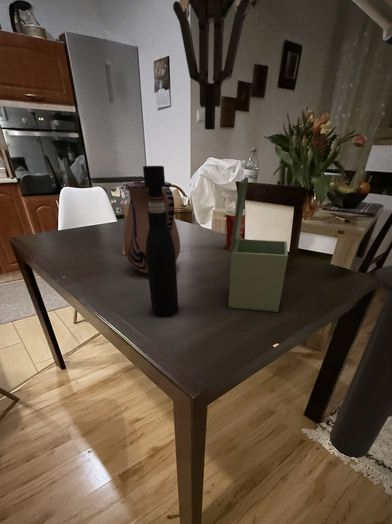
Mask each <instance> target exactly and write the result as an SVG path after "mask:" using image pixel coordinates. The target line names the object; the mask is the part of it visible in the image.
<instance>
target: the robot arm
mask: <svg viewBox="0 0 392 524" xmlns="http://www.w3.org/2000/svg"><path fill="white" fill-rule="evenodd" d="M351 1H352V2H353V3H354V4H355V5H357V6H358V7H359V9H361V11H363V12H364V13H365V14H367V15H368V16H369V17H370V19H372V20H373V21H374V22H375V23H376V24H377V25H378V26H380V27H381V28H382V40H383V41H384V42H385V43H386V44H387V45H388V46H389V47H390V48H392V0H351ZM233 5H234V10H235V14H234V18H233V22H232V27H231V32H230V38H229V41H228V47H227V52H226V57H225V61H224V68H223V59H224V58H223V56H224V30H225V19H226V18H227V16H228V14H229V12H230V10H231V8H232V6H233ZM251 6H252V3H251V0H179V1H177V0H176V1H174V2H173V5H172V9H173V12H174V14H175V16H176V18H177V20H178V22H179V29H180V32H181V38H182V43H183V48H184V54H185V59H186V63H187V64H186V65H187V70H188V74H189V78H190V79H191V80H192V81H193V82H196V83H198V86H199V106H200V107H201V108H203V109H204V130H206V131H207V130H211V131H212V130H215V129H216V108H221V104H222V85H223V83H224V82H226V81H227V80H230V79H231V78H232V76H233V72H234V67H235V62H236V57H237V53H238V49H239V44H240V40H241V35H242V30H243V26H244V21H245V19H246V17H247V15H248V13H249V11H250V9H251ZM190 7H191V8H192V10H193V12H194V14H195V16H196V18H197V20H198V21H197V22H198V23H197V24H198V64H197V59H196V52H195V47H194V41H193V35H192V29H191V25H190V22H189V18H190V13H191V12H190ZM211 23H213V59H212V60H213V61H212V62H213V64H212V66H213V67H212V68H213V69H212V71H213V73H212V81H213V82H209V56H210V55H209V52H210V51H209V50H210V49H209V47H210V45H209V43H210V24H211Z"/></svg>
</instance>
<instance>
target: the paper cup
mask: <svg viewBox="0 0 392 524" xmlns="http://www.w3.org/2000/svg"><path fill="white" fill-rule="evenodd" d="M235 212H236V207H233V208H227V209H226V212H225V221H226V223H225V224H226V225H225V227H226V228H225V233H226V235H225V237H226V239H225V240H226V250H227V251H231V252H232V251H233V250H230V246H231V239H232V233H233V226H234V219H235ZM246 215H247V212H246V209H244V210H243V216H242V222H241V229H240V235H239V239H243V235H244V227H245V220H246Z"/></svg>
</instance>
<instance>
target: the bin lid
mask: <svg viewBox="0 0 392 524" xmlns="http://www.w3.org/2000/svg"><path fill="white" fill-rule="evenodd" d="M248 183H249V177H244V178H243V179H242V180H241V181H240V182H239V185H238V191H237V198H236V205H235V208H236V212H235V219H234V226H233V233H232V239H231V246H230V250H229V251H232V250H234V248H235V246H236V243H237V241H238V239H239V235H240V229H241V222H242V216H243V210H245V202H246V196H247V189H248Z"/></svg>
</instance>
